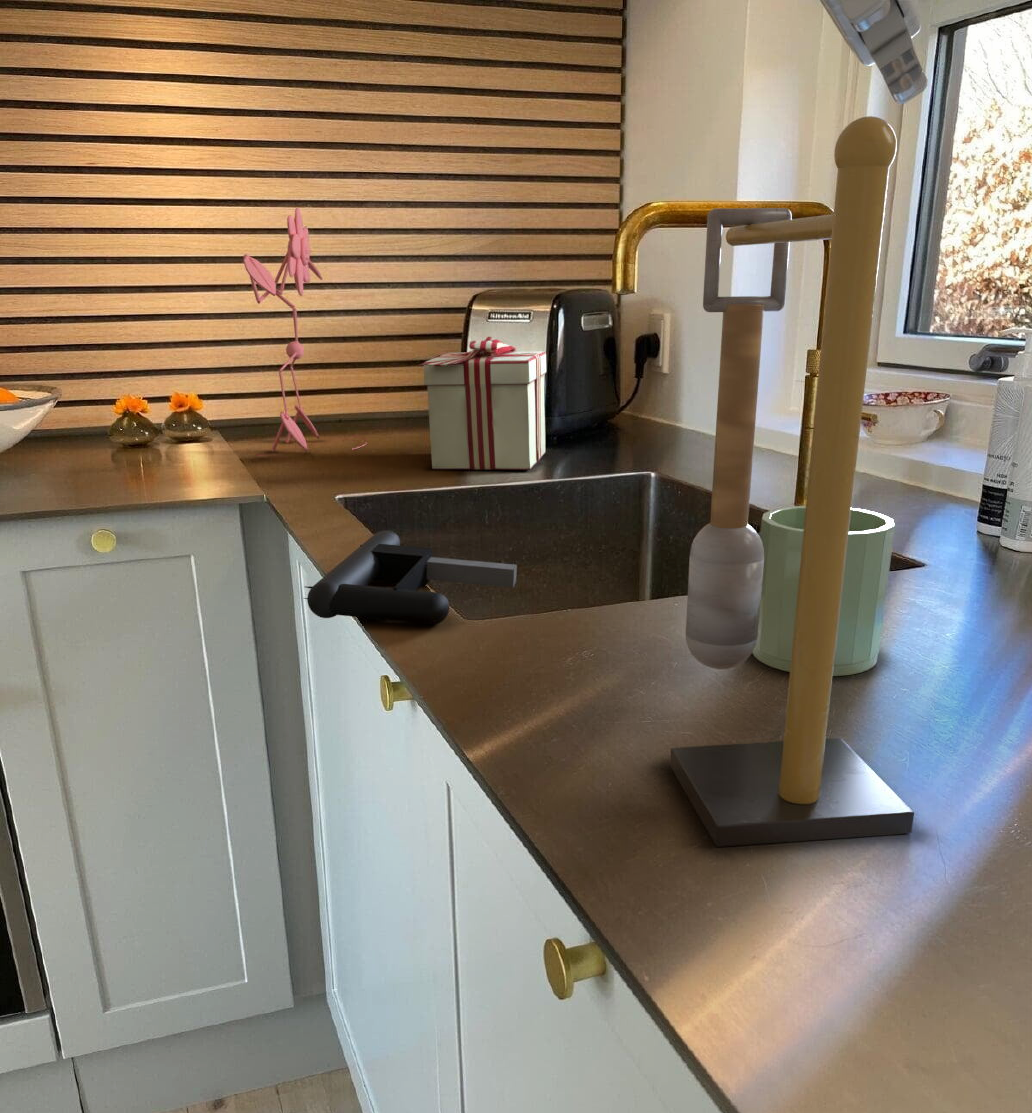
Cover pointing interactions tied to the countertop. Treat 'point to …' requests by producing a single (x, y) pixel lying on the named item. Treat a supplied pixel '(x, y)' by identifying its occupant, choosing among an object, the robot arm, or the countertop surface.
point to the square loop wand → (732, 464)
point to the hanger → (816, 552)
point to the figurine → (300, 270)
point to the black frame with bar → (398, 582)
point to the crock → (859, 588)
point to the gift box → (486, 407)
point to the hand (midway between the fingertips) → (893, 58)
